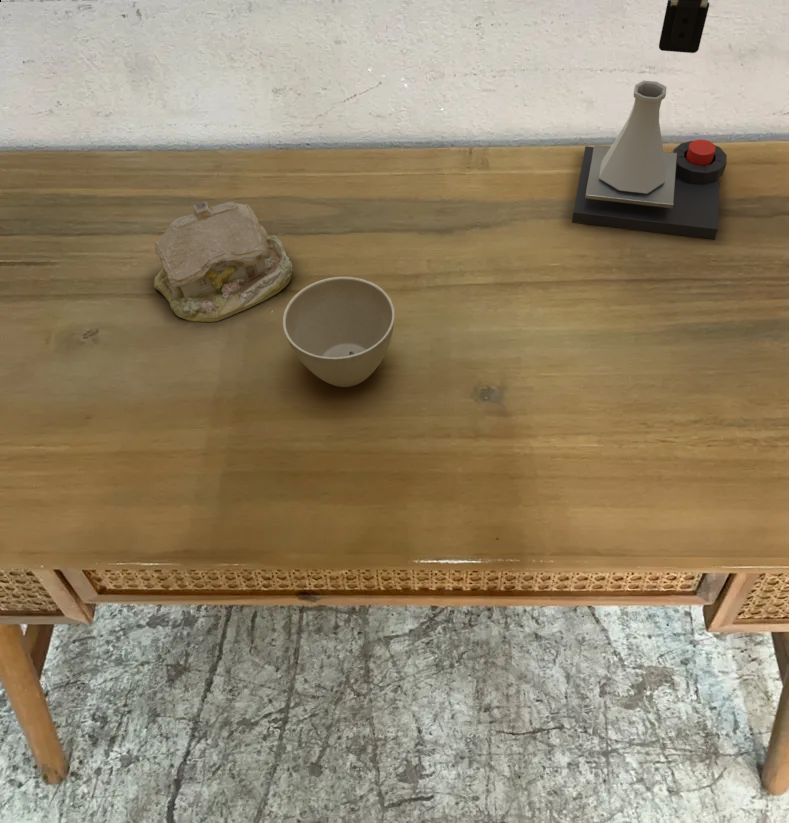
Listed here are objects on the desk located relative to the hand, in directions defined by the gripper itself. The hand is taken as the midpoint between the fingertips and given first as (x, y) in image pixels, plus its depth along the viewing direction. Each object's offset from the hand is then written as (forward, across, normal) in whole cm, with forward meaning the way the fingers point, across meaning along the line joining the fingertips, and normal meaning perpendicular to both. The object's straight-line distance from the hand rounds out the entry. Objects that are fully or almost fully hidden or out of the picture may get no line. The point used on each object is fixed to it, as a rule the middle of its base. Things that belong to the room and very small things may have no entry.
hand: (680, 21), depth 73 cm
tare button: (+20, +9, -6) cm, 22 cm away
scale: (+22, +5, -1) cm, 23 cm away
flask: (+19, +4, +1) cm, 19 cm away
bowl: (+22, -26, +25) cm, 43 cm away
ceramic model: (+22, -17, +41) cm, 50 cm away
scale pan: (+19, +4, +1) cm, 20 cm away
